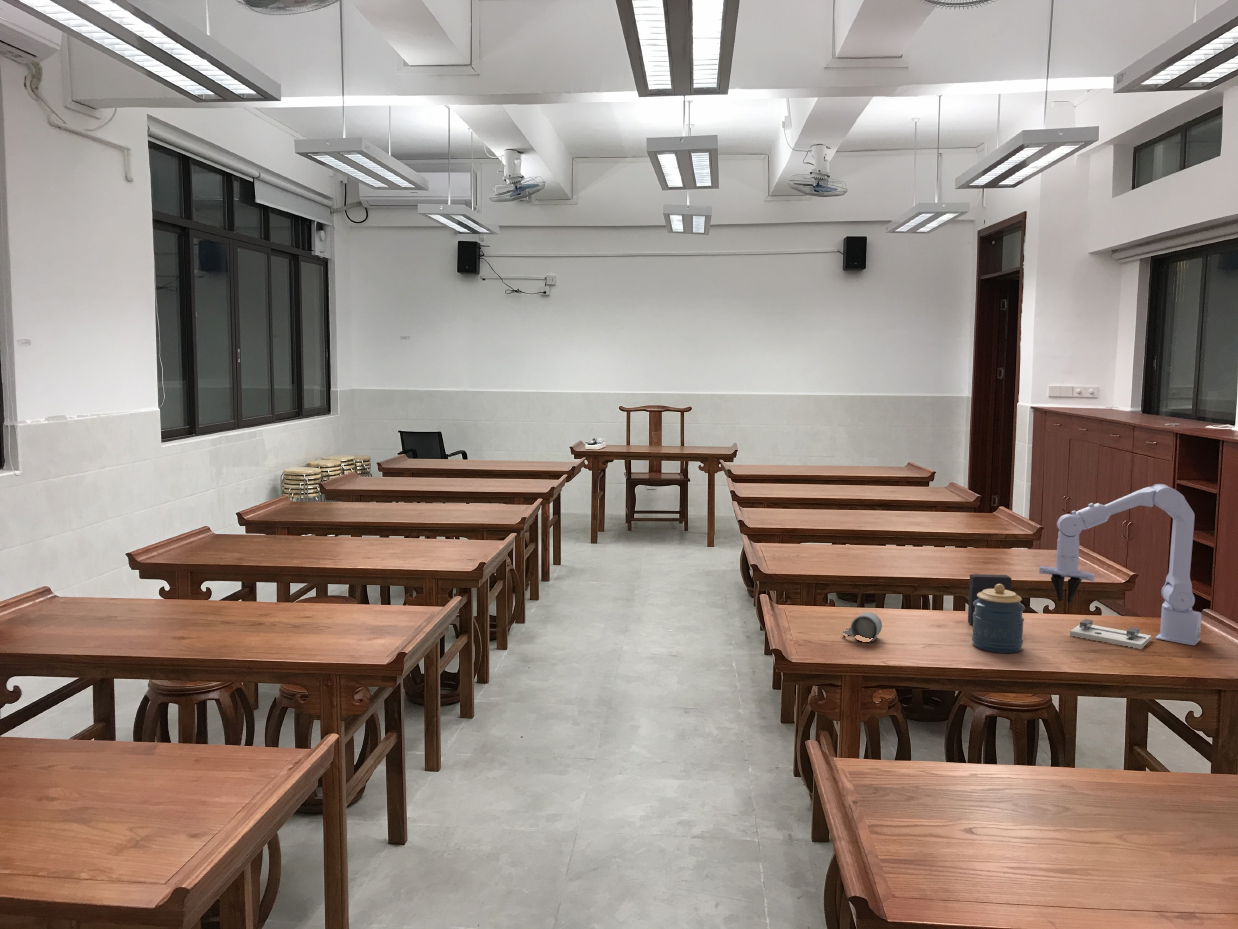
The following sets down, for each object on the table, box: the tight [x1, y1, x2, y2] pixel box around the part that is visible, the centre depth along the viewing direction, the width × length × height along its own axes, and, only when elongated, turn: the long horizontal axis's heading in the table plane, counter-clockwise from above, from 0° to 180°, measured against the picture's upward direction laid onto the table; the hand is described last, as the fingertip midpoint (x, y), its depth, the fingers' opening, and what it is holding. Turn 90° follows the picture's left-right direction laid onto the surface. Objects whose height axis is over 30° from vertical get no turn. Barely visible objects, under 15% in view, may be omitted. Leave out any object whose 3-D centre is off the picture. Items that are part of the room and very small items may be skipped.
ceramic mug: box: [843, 611, 883, 642], centre depth 248 cm, size 11×8×8 cm
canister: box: [971, 584, 1026, 654], centre depth 240 cm, size 13×13×18 cm
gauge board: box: [1069, 624, 1152, 650], centre depth 249 cm, size 18×11×2 cm, turn 46°
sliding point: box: [1079, 618, 1094, 629], centre depth 253 cm, size 2×6×2 cm, turn 136°
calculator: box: [967, 573, 1012, 626], centre depth 262 cm, size 11×4×15 cm, turn 84°
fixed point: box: [1126, 626, 1140, 638], centre depth 245 cm, size 2×6×2 cm, turn 136°
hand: (1065, 601), depth 257 cm, fingers open, 2 cm apart
